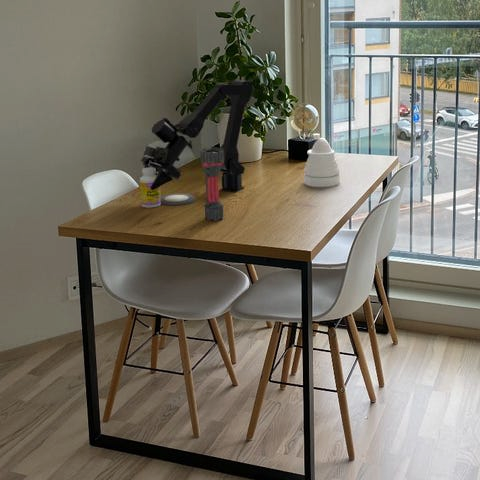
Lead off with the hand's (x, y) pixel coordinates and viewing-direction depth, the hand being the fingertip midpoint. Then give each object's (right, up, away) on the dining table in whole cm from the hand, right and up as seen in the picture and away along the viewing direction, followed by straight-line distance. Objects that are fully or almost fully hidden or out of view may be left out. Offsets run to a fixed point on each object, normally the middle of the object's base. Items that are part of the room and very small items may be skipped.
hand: (146, 187), depth 301 cm
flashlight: (+24, -11, -16) cm, 31 cm away
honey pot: (+62, +3, +26) cm, 67 cm away
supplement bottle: (+1, -6, +3) cm, 7 cm away
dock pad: (+10, -4, +8) cm, 13 cm away
